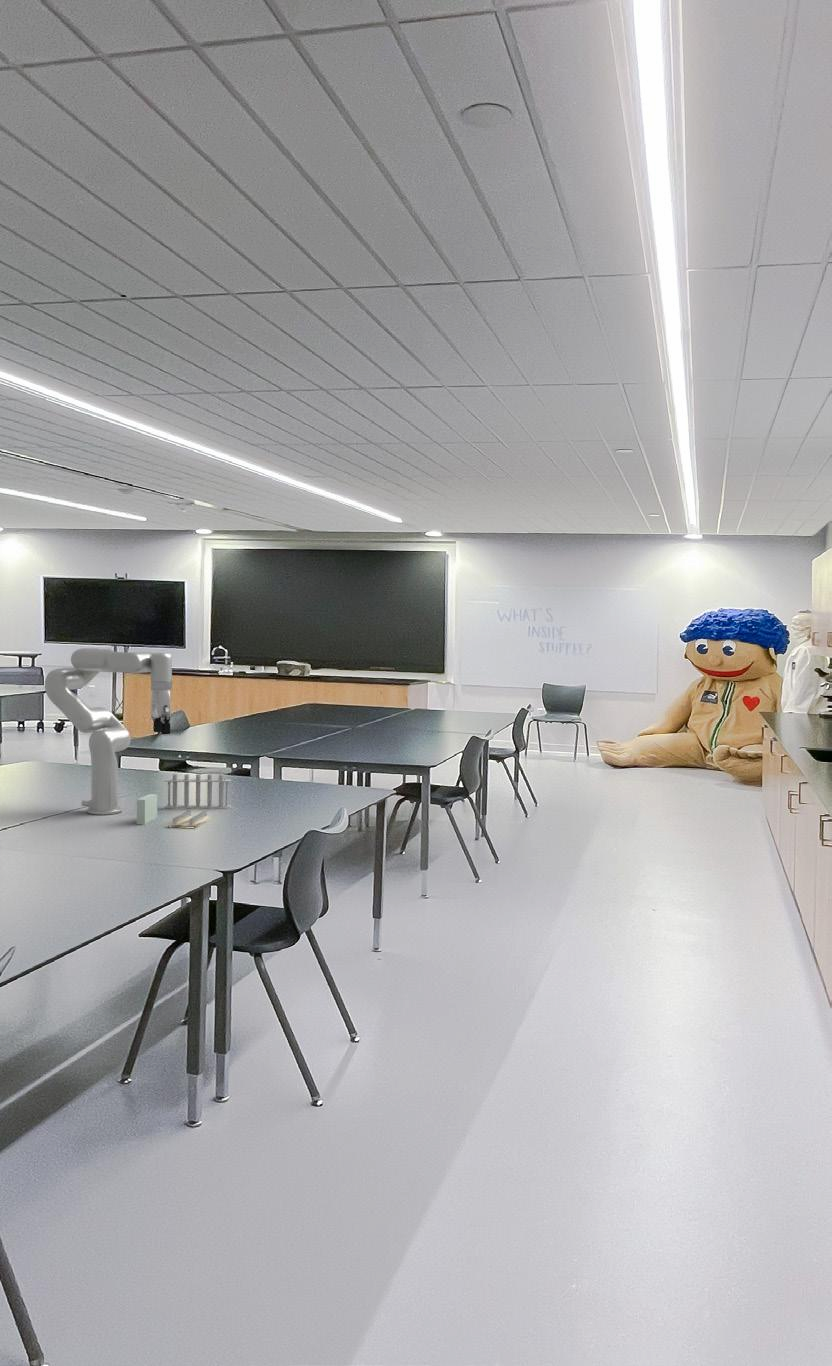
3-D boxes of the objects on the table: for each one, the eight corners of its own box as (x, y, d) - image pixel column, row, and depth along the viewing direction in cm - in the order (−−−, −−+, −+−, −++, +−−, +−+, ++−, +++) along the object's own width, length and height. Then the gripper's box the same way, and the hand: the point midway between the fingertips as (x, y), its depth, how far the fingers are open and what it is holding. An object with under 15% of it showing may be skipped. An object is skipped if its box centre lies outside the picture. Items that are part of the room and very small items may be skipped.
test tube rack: (231, 807, 389) (231, 773, 389) (230, 809, 385) (230, 775, 384) (166, 807, 387) (166, 773, 386) (164, 809, 382) (164, 775, 382)
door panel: (136, 824, 351) (136, 799, 351) (149, 818, 363) (149, 794, 363) (144, 825, 351) (144, 799, 350) (157, 818, 363) (157, 794, 362)
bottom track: (167, 827, 347) (167, 819, 347) (185, 817, 365) (185, 809, 365) (195, 828, 346) (195, 820, 346) (211, 819, 364) (211, 810, 364)
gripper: (144, 685, 369) (145, 731, 370) (158, 687, 354) (158, 735, 355) (164, 685, 373) (164, 730, 374) (178, 687, 358) (179, 734, 359)
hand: (161, 733), depth 364 cm, fingers open, 9 cm apart
